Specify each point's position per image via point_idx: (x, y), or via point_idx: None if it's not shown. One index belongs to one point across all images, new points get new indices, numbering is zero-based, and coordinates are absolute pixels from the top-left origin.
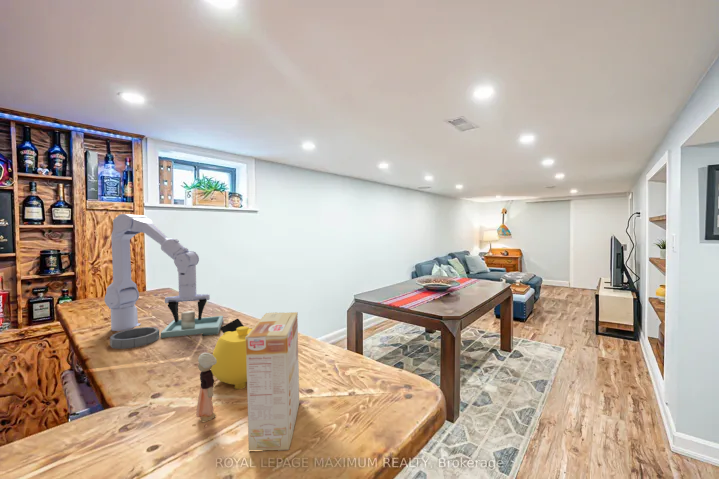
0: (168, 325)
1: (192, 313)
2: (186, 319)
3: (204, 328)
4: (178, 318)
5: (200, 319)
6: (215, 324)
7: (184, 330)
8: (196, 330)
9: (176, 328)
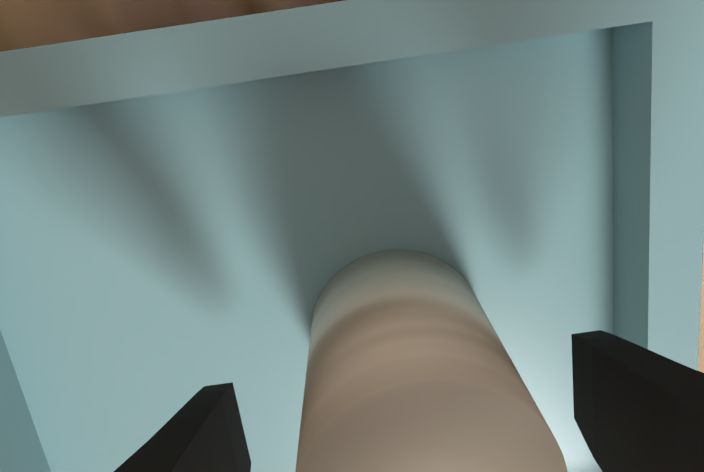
0: (686, 350)
1: (311, 437)
2: (409, 321)
3: (13, 52)
4: (590, 446)
5: (197, 396)
6: (79, 451)
7: (338, 2)
8: (151, 33)
9: (562, 370)
